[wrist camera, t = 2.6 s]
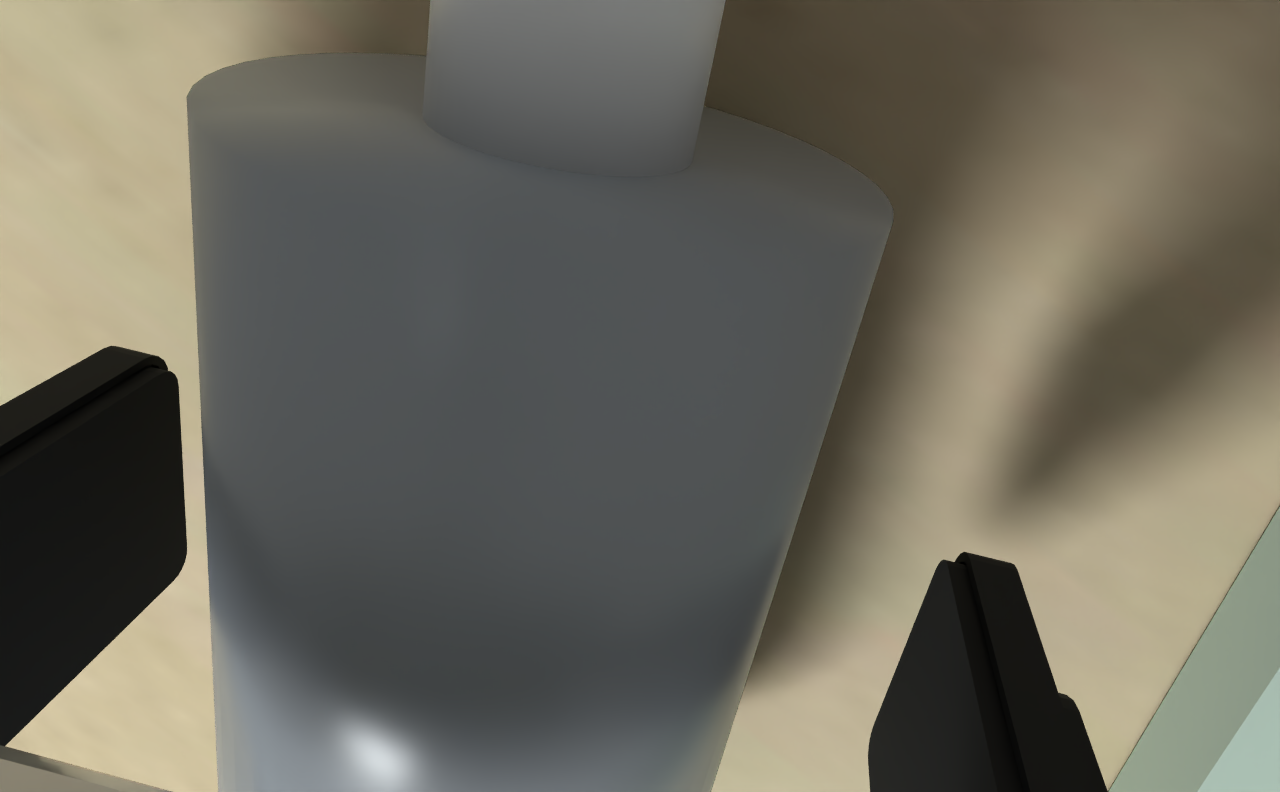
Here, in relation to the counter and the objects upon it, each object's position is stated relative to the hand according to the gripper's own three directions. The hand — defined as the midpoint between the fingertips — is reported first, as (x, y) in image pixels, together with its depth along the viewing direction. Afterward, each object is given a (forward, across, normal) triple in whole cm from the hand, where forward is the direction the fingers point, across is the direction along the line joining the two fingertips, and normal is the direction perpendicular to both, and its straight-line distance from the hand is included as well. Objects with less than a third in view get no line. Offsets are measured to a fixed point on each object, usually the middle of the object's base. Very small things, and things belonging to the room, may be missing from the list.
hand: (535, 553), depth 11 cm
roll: (+2, -1, 0) cm, 2 cm away
